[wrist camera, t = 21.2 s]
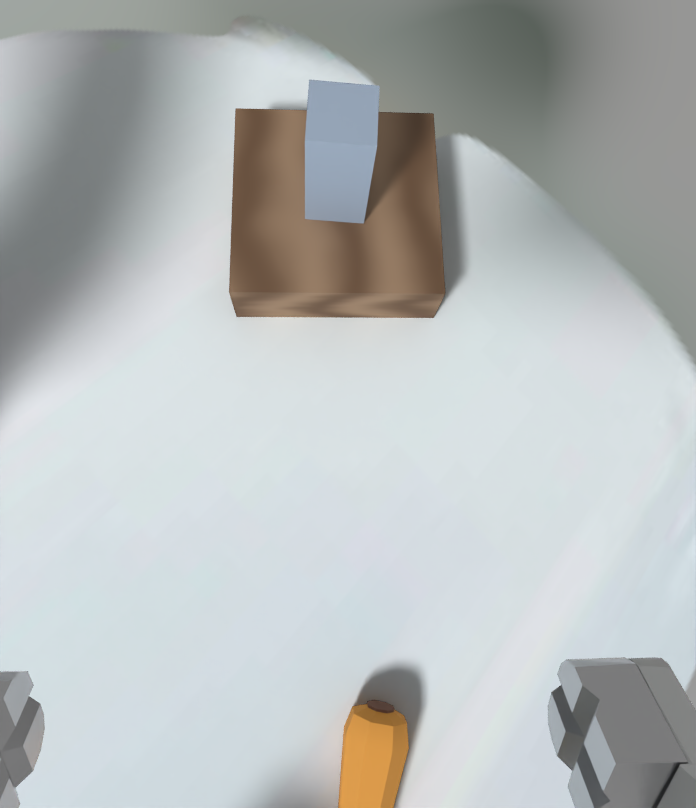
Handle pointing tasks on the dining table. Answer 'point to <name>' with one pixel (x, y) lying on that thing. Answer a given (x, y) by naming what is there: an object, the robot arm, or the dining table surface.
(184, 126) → the dining table surface
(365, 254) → the walnut block
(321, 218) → the slate pillar
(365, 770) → the carrot
